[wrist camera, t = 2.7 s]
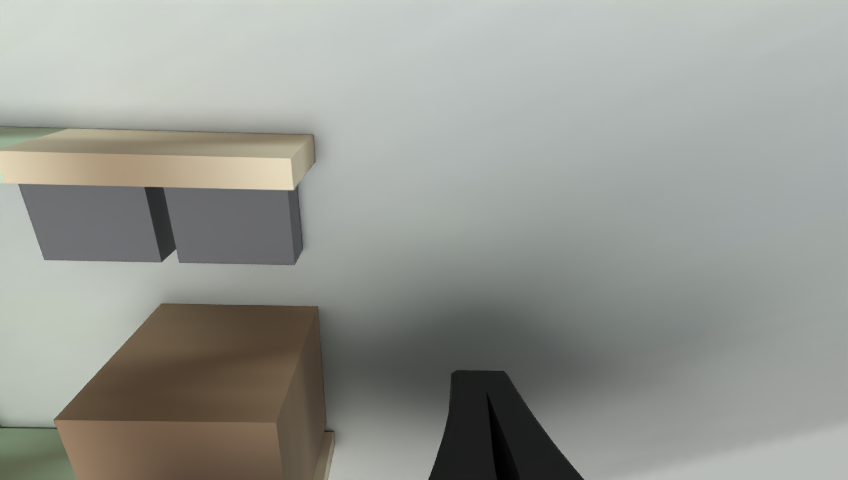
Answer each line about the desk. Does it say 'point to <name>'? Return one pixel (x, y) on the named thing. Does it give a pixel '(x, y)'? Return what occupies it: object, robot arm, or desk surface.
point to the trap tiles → (165, 223)
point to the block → (204, 398)
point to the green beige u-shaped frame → (143, 167)
